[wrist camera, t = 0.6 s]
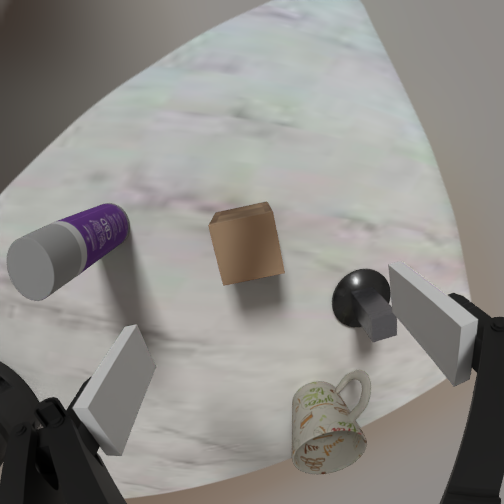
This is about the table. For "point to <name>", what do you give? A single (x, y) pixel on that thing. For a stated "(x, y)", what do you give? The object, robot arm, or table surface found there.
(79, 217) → the container
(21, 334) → the table surface
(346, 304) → the post
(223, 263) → the brown shipping carton
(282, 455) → the table surface
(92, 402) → the robot arm
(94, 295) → the table surface
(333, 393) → the mug
